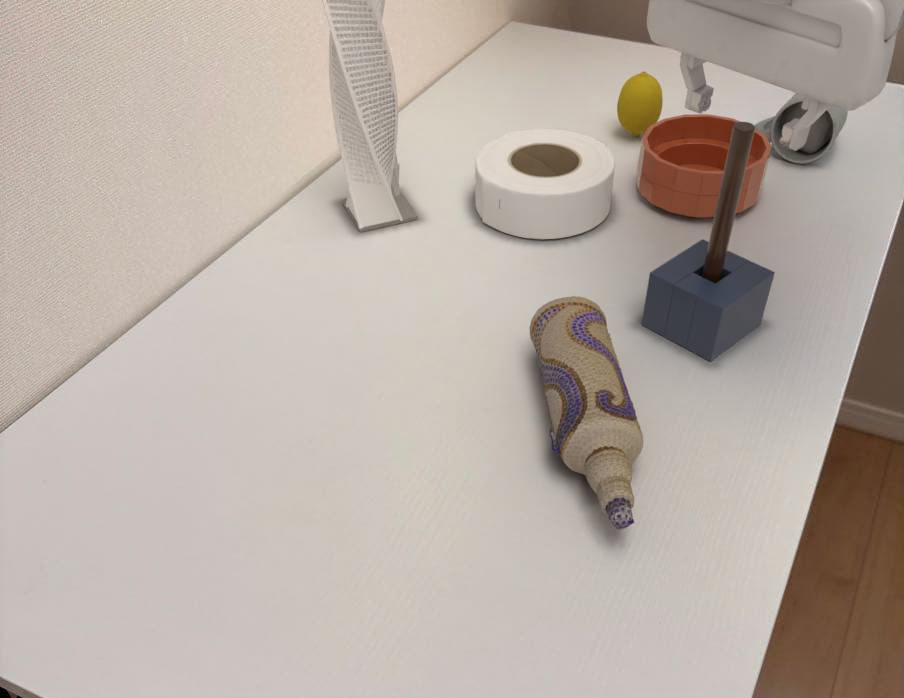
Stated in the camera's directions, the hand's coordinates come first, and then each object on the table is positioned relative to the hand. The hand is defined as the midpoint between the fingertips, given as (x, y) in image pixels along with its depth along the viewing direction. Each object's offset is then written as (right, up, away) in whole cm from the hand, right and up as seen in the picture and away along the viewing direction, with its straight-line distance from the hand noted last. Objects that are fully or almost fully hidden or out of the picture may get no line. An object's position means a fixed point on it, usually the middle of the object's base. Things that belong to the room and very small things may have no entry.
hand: (742, 127), depth 79 cm
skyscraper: (-33, +3, +30) cm, 45 cm away
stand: (0, -13, +15) cm, 20 cm away
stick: (0, -13, +15) cm, 20 cm away
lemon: (-1, +17, +42) cm, 45 cm away
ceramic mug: (+18, +14, +39) cm, 45 cm away
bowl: (+4, +6, +32) cm, 33 cm away
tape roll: (-14, +4, +31) cm, 34 cm away
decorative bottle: (-13, -25, +5) cm, 29 cm away
